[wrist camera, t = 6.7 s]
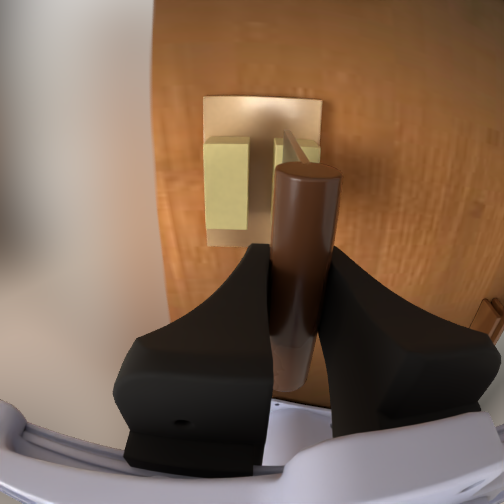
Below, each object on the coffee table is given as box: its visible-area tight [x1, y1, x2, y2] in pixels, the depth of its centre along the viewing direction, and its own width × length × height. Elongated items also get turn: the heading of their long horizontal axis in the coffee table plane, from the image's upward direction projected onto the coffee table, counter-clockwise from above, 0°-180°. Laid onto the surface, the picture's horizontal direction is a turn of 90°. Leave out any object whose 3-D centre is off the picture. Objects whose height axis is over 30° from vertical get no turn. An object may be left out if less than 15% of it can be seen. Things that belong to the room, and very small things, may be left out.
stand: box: [470, 298, 504, 345], centre depth 25 cm, size 2×4×3 cm, turn 179°
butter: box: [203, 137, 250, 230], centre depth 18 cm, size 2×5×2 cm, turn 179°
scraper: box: [267, 130, 343, 392], centre depth 13 cm, size 2×8×8 cm, turn 179°
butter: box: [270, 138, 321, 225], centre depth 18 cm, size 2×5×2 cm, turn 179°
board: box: [203, 96, 322, 247], centre depth 20 cm, size 7×10×1 cm
